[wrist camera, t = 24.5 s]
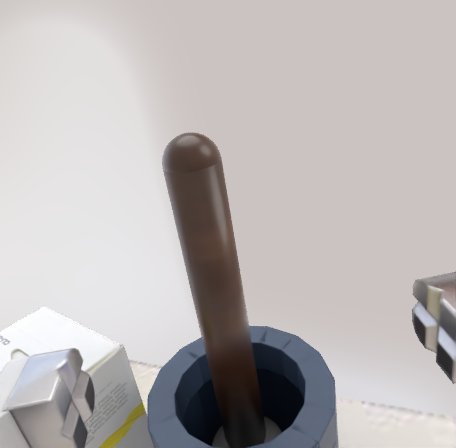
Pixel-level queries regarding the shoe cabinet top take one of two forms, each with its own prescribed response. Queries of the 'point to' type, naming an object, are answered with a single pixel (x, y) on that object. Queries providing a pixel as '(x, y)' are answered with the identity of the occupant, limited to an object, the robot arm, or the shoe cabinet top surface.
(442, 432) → the shoe cabinet top surface
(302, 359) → the jar
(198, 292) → the brown wooden rod
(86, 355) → the ink box
